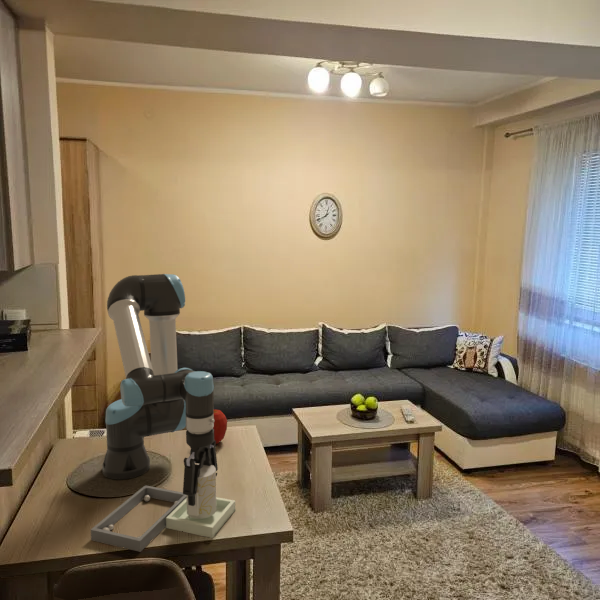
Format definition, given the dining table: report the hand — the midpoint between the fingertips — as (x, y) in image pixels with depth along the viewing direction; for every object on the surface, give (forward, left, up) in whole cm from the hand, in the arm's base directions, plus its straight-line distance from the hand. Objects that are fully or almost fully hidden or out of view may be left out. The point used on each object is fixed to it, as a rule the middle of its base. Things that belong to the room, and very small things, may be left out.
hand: (201, 506), depth 145 cm
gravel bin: (-15, -6, -4) cm, 17 cm away
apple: (-20, +46, -4) cm, 50 cm away
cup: (0, 0, -2) cm, 2 cm away
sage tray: (0, 0, -4) cm, 4 cm away
